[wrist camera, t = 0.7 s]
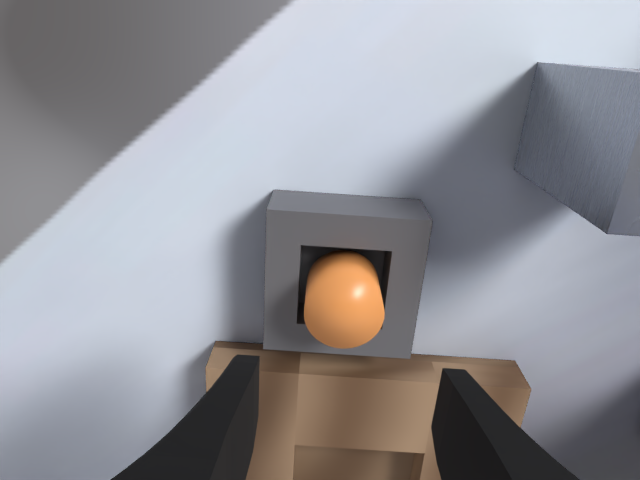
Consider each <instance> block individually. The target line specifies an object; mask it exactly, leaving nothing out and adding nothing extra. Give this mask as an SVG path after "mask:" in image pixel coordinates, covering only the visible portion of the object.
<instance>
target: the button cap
mask: <svg viewBox="0 0 640 480" xmlns="http://www.w3.org/2000/svg"><path fill="white" fill-rule="evenodd" d="M384 315H385V312H384V305H383V300H382V295H381V290H380V285H379V280H378V275H377V272H376V269H375V268H374V266H373V264H372V263H371V262H370V261H369V260H368V259H367V258H366V257H364V256H363V255H361V254H359V253H356V252H353V251H348V250H338V251H333V252H329V253H327V254H325V255H323V256H321V257H320V258H319V259H318V260H316V261H315V263H314V264H313V265H312V267H311V268H310V270H309V273H308V276H307V285H306V295H305V305H304V320H305V324H306V326H307V328H308V330H309V332H310V333H311V334H312V335H313V337H315V338H316V339H317V340H318V341H320V342H321V343H323V344H325V345H327V346H330V347H334V348H341V349H347V348H354V347H358V346H361V345H363V344H365V343H367V342H368V341H370V340H371V339H372V338H374V337H375V335H376V334H377V333H378V332H379V330H380V329H381V327H382V324H383V321H384Z"/></svg>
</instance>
